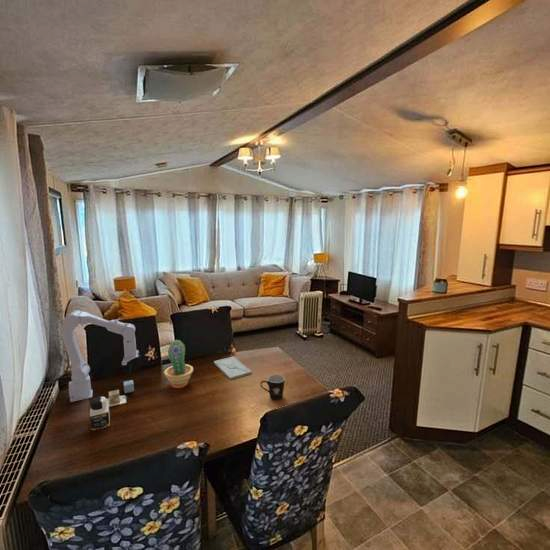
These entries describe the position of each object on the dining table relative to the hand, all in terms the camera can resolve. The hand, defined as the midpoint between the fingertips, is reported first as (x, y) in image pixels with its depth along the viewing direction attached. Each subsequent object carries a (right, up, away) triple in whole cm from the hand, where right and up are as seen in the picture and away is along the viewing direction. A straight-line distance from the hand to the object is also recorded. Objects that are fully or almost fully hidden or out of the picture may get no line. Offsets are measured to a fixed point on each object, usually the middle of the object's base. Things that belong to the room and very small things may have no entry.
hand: (131, 372), depth 169 cm
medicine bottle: (-1, -15, -27) cm, 31 cm away
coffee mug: (+75, -11, -5) cm, 76 cm away
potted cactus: (+23, -9, +7) cm, 26 cm away
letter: (-4, -12, -10) cm, 16 cm away
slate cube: (-2, -10, 0) cm, 10 cm away
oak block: (-4, -11, -10) cm, 16 cm away
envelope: (+49, -6, +26) cm, 56 cm away
